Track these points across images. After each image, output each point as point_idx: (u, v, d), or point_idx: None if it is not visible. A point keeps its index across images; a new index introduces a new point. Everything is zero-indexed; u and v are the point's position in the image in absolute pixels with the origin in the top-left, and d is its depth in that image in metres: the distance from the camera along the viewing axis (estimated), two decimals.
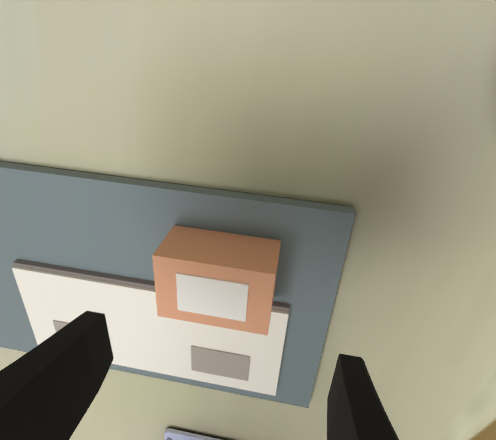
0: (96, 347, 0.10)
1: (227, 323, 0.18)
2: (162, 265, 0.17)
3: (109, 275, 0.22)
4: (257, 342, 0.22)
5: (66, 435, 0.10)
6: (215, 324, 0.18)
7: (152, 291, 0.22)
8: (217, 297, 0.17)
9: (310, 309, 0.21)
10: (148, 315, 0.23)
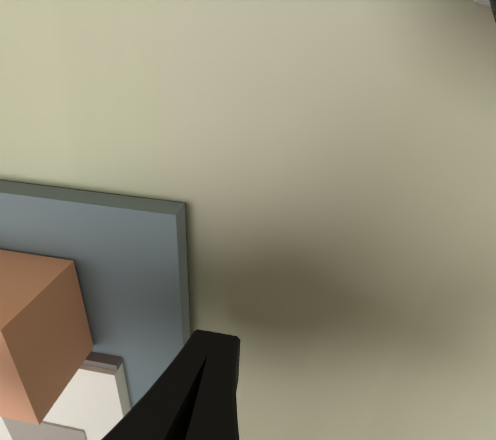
0: None
1: None
2: None
3: None
4: (86, 412, 0.14)
5: None
6: None
7: None
8: None
9: (153, 365, 0.13)
10: None
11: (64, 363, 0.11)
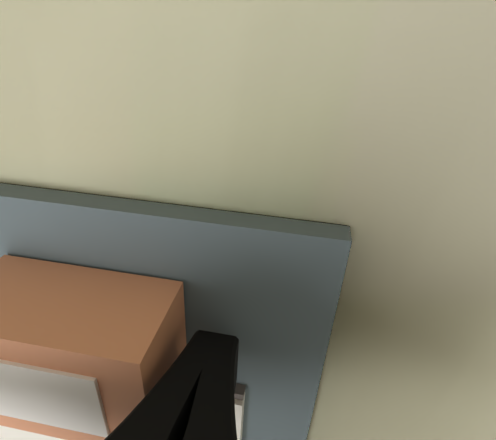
0: None
1: (80, 436, 0.10)
2: None
3: None
4: None
5: None
6: (62, 436, 0.10)
7: None
8: (47, 397, 0.09)
9: (280, 394, 0.12)
10: None
11: None
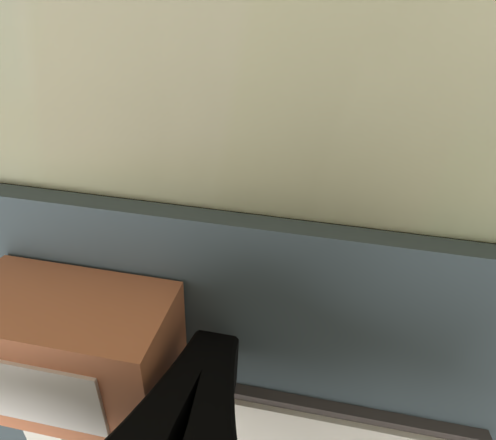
0: None
1: (81, 436, 0.10)
2: None
3: None
4: None
5: None
6: (63, 436, 0.10)
7: None
8: (48, 398, 0.09)
9: None
10: None
11: None
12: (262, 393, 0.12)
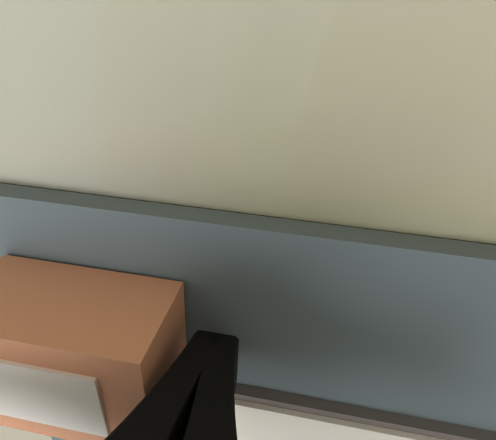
0: None
1: (80, 436, 0.10)
2: None
3: (355, 409, 0.12)
4: None
5: None
6: (62, 436, 0.10)
7: None
8: (48, 397, 0.09)
9: None
10: None
11: None
12: (479, 434, 0.11)
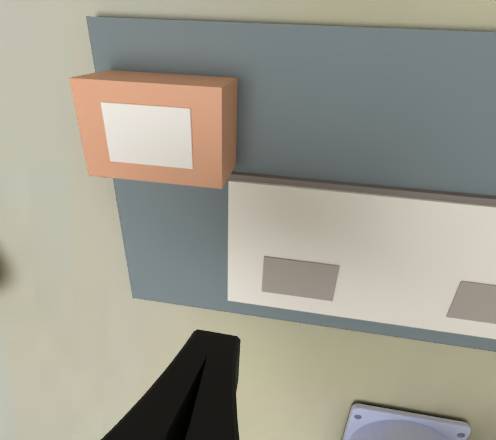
0: None
1: (171, 175, 0.15)
2: (83, 92, 0.14)
3: (366, 184, 0.17)
4: None
5: None
6: (158, 179, 0.15)
7: (434, 201, 0.16)
8: (154, 134, 0.14)
9: None
10: (413, 239, 0.17)
11: (229, 156, 0.15)
12: (455, 193, 0.16)
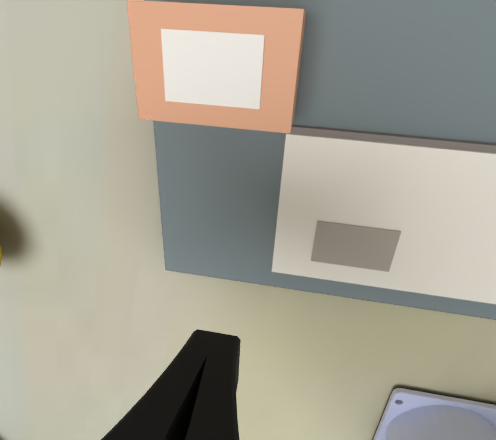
0: None
1: (233, 118, 0.13)
2: (141, 17, 0.12)
3: (439, 138, 0.15)
4: None
5: None
6: (217, 123, 0.13)
7: None
8: (220, 67, 0.12)
9: None
10: (487, 200, 0.15)
11: None
12: None
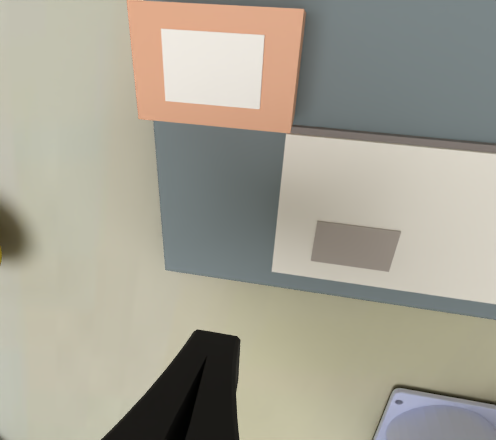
0: None
1: (233, 118, 0.13)
2: (141, 17, 0.12)
3: (439, 138, 0.15)
4: None
5: None
6: (217, 123, 0.13)
7: None
8: (220, 67, 0.12)
9: None
10: (487, 200, 0.15)
11: None
12: None
